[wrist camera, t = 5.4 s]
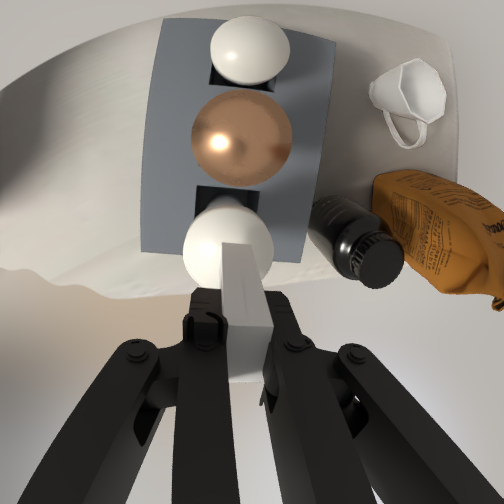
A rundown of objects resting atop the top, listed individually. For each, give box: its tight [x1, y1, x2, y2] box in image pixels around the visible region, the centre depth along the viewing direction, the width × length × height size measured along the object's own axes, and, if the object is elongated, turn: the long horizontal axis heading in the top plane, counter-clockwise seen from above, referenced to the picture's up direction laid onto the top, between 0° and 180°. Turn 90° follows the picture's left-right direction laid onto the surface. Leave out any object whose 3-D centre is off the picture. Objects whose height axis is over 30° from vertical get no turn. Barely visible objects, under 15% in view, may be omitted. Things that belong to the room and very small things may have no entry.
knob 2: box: [183, 194, 274, 289], centre depth 19 cm, size 5×5×8 cm
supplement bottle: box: [307, 196, 405, 289], centre depth 26 cm, size 7×7×12 cm
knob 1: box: [210, 16, 290, 89], centre depth 18 cm, size 5×5×8 cm
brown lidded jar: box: [191, 89, 293, 187], centre depth 17 cm, size 5×5×8 cm
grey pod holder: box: [140, 18, 336, 263], centre depth 23 cm, size 14×20×8 cm
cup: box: [368, 58, 447, 149], centre depth 23 cm, size 7×10×8 cm
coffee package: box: [372, 170, 504, 312], centre depth 22 cm, size 10×12×22 cm
